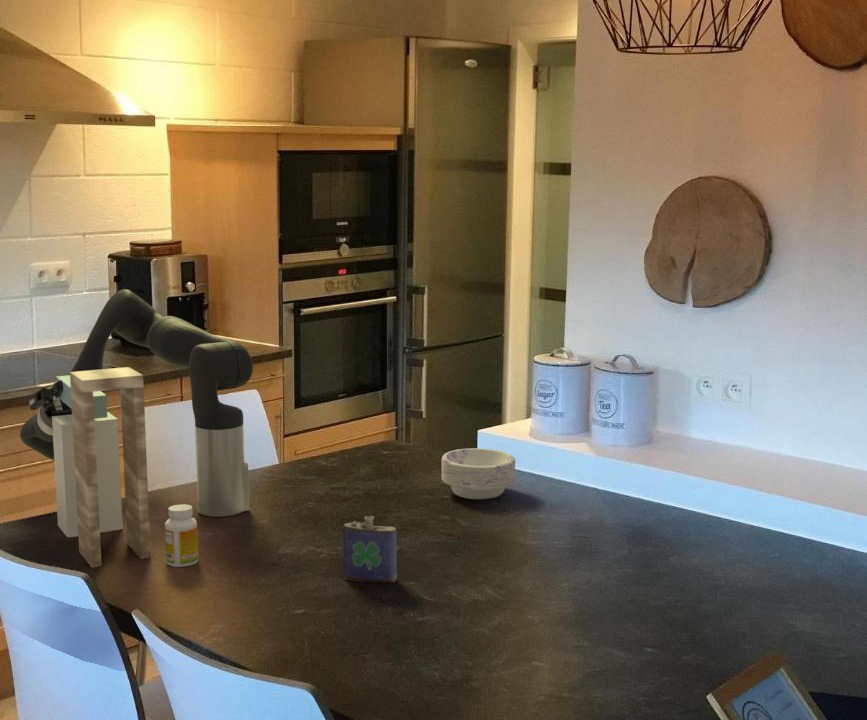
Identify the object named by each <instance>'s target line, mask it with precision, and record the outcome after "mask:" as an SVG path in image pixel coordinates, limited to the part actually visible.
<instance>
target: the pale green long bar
mask: <svg viewBox="0 0 867 720" xmlns="http://www.w3.org/2000/svg"><path fill="white" fill-rule="evenodd" d="M55 377H56V378H55V381H56V382H55V383H57V381H58V380H62V384H63V392H62V394H61V396H60V397H59V399H60V400H62V401H63V402H64V403H65V404H66V405H68V406H69V407H70V408H71V409H72V403H71V385H70V375H69V374H68V375H61V376H60V375H57V376H55ZM93 403H94V419H96V418H105V417H107V412H108V400H107V394H106V393H104V392H103V391H95V392H93Z"/></svg>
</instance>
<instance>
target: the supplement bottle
mask: <svg viewBox="0 0 867 720" xmlns="http://www.w3.org/2000/svg"><path fill="white" fill-rule="evenodd" d="M167 511H168V514H167V515H168V517H169V518H168V519H167V520H166V521H165V522H164V536H165V537H164V539H165V543H164V544H165V560H166V561H165V562H166V565H168V566H169V567H173V568H185V567H190V566H193V565H196V564H197V563H198V561H199V540H198V538H199V537H198V535H199V534H198V522H197V520H196V518H194V517H192V516H193V514H194V512H193V506H192V505H190V504H185V503H183V504H175V505H171V506H169V507H168V509H167Z"/></svg>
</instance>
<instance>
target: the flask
mask: <svg viewBox="0 0 867 720" xmlns="http://www.w3.org/2000/svg"><path fill="white" fill-rule="evenodd" d="M363 519H364V520H365V521H364V522H359V521H356V520H354V521H352V522H347V523H344V525H343V526H342V576H343V579H345V580H349V581H354V582H365V583H366V582H368V583H377V584H378V583H379V584H380V583H381V584H393V583H396V581H397V580H398V572H397V571H398V570H397V569H398V567H397V565H398V564H397V563H398V558H397V548H398V546H397V537H398V532H397V528H396V527H394V526H384V525H383V526H382V525H374V521H373V520H375V516H372V515H370V516H367V515H366V516H364V518H363Z"/></svg>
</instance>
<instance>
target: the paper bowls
mask: <svg viewBox="0 0 867 720" xmlns="http://www.w3.org/2000/svg"><path fill="white" fill-rule="evenodd" d="M515 476H516V458H515V457H514V456H513V455H512V454H510V453H508V452H506V451H502V450H497V449H492V448H480V447H479V448H478V447H477V448H461V449H459V448H458V449H455V450H451V451H450V450H449V451H448V452H446V453H444V454H442V457H441V480H442V481H443V483H444V484H446V485H449V486H450V488H451V490H452V492H453V493H454V495H456V496H458V497H460V498H464V499H467V500H489V499H495V498H497V497H500V496H502V494H503V493H504V491H505V490H506V487H508V486H510V485H512V484H514V482H515V478H516V477H515Z"/></svg>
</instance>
